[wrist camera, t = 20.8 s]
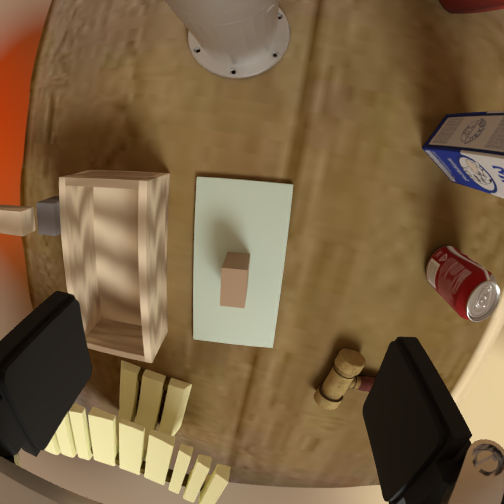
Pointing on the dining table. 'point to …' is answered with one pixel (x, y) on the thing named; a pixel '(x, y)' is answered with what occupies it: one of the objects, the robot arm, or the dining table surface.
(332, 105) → the dining table surface
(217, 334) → the lid
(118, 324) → the toolbox
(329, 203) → the dining table surface
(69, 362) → the robot arm
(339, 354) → the gavel
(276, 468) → the dining table surface
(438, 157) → the milk carton
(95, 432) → the slatted curved stool
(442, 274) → the soda can
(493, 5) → the plant pot
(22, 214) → the bar
